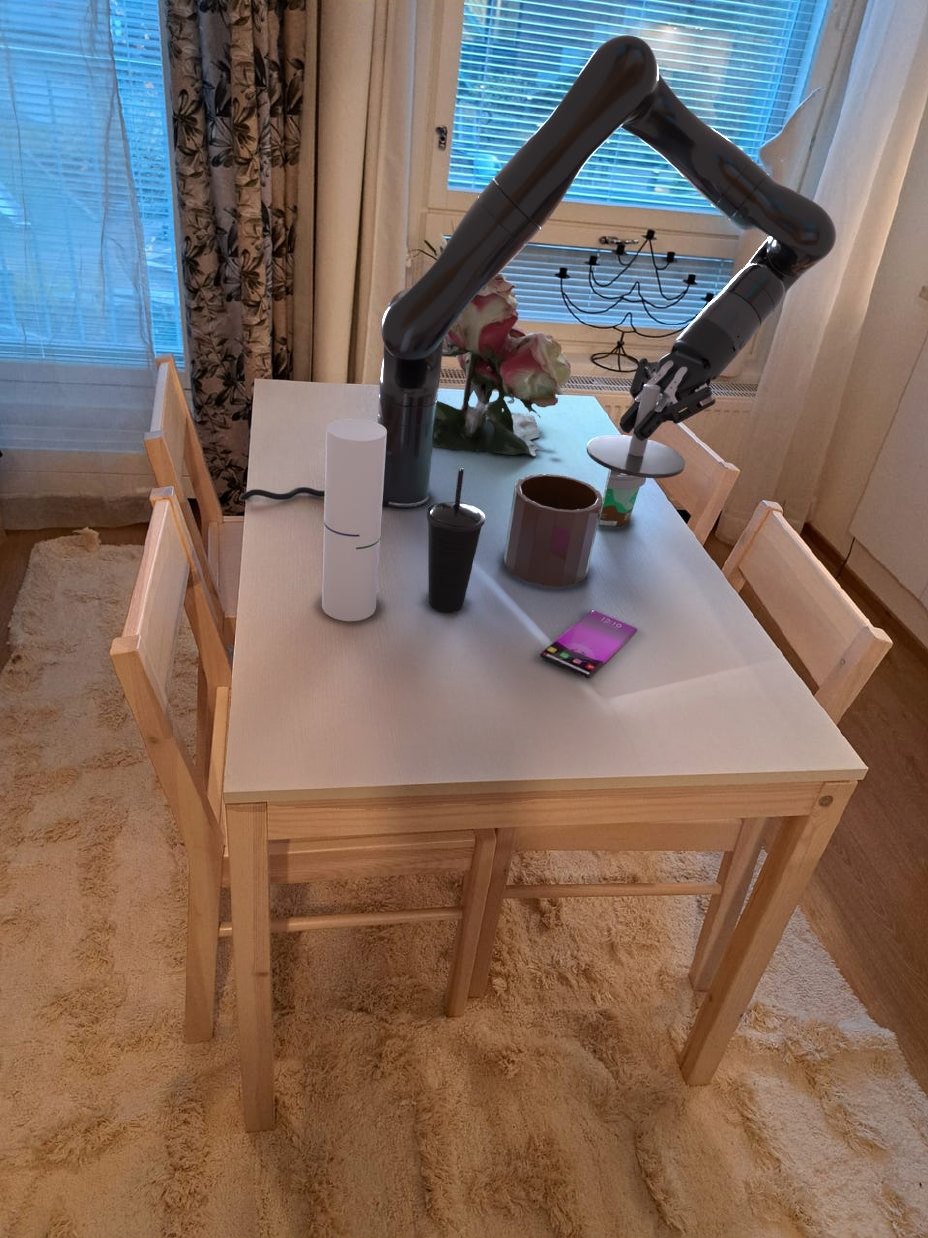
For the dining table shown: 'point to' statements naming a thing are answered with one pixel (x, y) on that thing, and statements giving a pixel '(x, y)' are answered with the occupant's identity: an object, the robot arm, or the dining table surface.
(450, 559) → the drinking cup
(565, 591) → the dining table surface
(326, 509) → the cylindrical container
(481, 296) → the rose bouquet
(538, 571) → the brown cylindrical pot
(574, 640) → the smartphone
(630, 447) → the lid
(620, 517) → the food container
